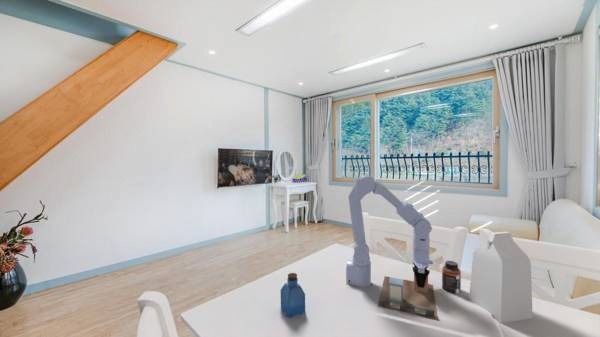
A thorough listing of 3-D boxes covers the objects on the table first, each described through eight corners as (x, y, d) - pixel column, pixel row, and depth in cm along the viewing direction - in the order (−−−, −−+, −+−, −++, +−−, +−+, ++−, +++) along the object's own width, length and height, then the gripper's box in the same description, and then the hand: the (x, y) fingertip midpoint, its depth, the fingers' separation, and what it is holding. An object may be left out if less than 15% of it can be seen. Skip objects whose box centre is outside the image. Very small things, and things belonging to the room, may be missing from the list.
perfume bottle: (288, 317, 79) (287, 281, 79) (280, 307, 85) (280, 273, 84) (305, 312, 82) (304, 276, 82) (296, 302, 88) (296, 269, 87)
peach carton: (414, 290, 93) (414, 272, 92) (414, 284, 97) (414, 267, 97) (428, 293, 91) (428, 274, 91) (427, 287, 95) (427, 269, 95)
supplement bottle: (463, 297, 90) (463, 266, 89) (445, 295, 91) (445, 265, 90) (456, 288, 95) (456, 259, 95) (439, 287, 97) (440, 258, 96)
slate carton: (389, 295, 89) (389, 277, 89) (403, 298, 87) (403, 279, 87) (388, 302, 85) (388, 283, 85) (402, 306, 83) (402, 285, 83)
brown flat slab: (377, 308, 83) (377, 300, 83) (384, 278, 104) (384, 271, 104) (438, 323, 76) (438, 313, 76) (432, 287, 97) (433, 279, 96)
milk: (497, 297, 89) (499, 226, 88) (532, 318, 78) (535, 236, 77) (468, 301, 87) (470, 228, 86) (500, 323, 76) (502, 239, 74)
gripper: (434, 257, 85) (433, 295, 86) (431, 243, 98) (431, 277, 99) (411, 254, 88) (411, 291, 89) (412, 241, 101) (411, 274, 102)
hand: (420, 283), depth 94 cm, fingers closed on peach carton, 4 cm apart
